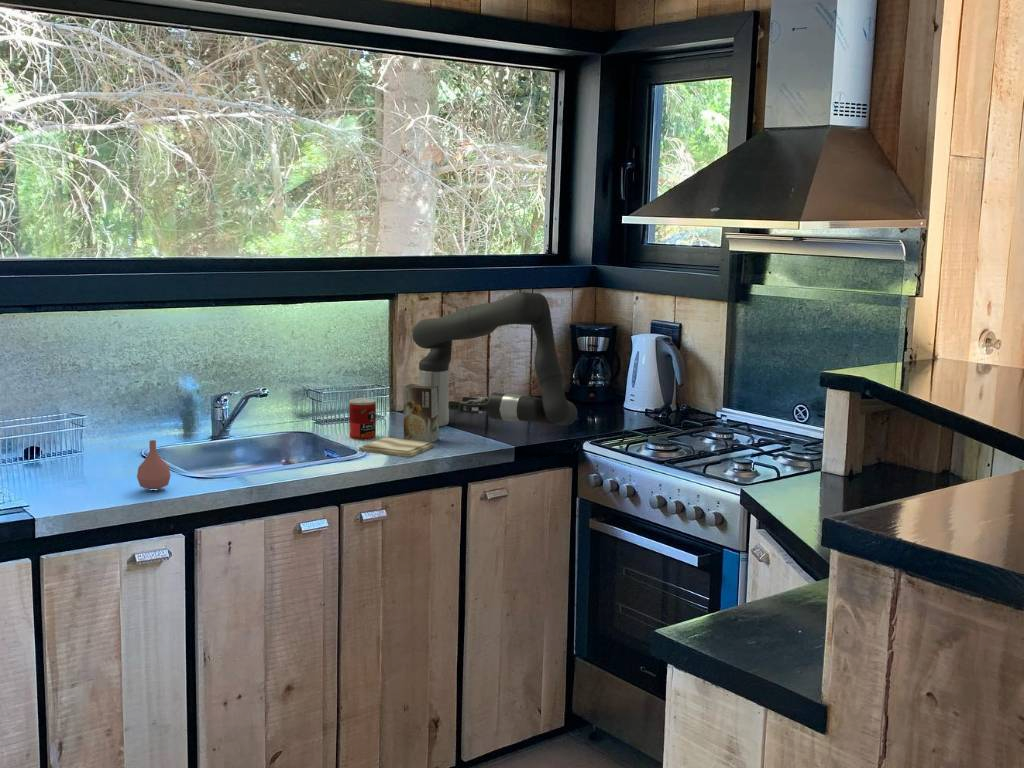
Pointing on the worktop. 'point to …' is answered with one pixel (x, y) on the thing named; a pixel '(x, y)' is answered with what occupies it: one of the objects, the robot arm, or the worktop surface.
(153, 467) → the terracotta vase
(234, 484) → the worktop surface
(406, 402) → the coffee box
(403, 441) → the folded beige cloth
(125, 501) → the worktop surface
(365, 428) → the canned food
